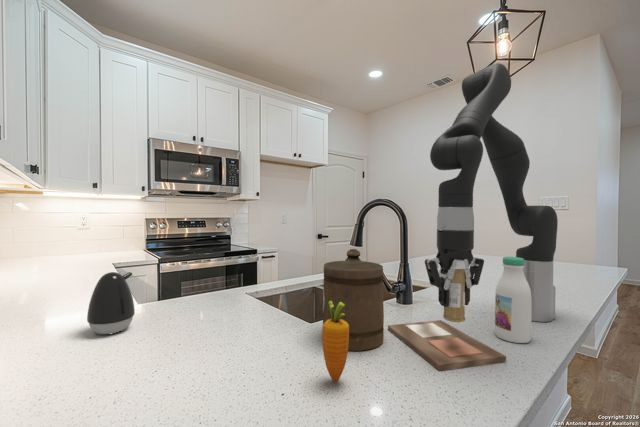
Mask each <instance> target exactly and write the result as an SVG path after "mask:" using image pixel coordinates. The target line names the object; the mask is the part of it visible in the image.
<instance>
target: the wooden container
mask: <svg viewBox="0 0 640 427" xmlns="http://www.w3.org/2000/svg"><path fill="white" fill-rule="evenodd" d="M346 256H347V257H346V258H345V260H335V261H329V262H326V263H324V264H323V289H322V290H323V293H322V294H323V296H322V325H323V324H324V323H325V322H326V321H327V320H328V319H332V317H331V313H330V306H329V303H328V302H329V301H332V303H333V305H334V313H335V310H336V308H337V306H338V304H339V302H342V303H343V304H345V306H344V307H343V308H342V309H341V311H340V314H341V313H344V314H345V315H344V316H343V317H342V318H341V319H342V320H344V321H346V322H347V323H348V324H349V345H348V352H349V351H350V352H361V351H369V350H374V349H376V348H379V347H380V346H382V344H383V343H384V332H385V330H384V323H385V322H384V321H385V320H384V318H385V317H384V316H385V313H384V312H385V311H384V309H385V308H384V267H383V266H384V265H382V264H380V263H377V262H373V261H371V262H370V261H363V260H361V259H360V256H361V251H359V250H358V249H356V248H350V249H349V250H347V251H346ZM340 314H339V315H340Z"/></svg>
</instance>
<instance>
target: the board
mask: <svg viewBox="0 0 640 427" xmlns="http://www.w3.org/2000/svg"><path fill="white" fill-rule="evenodd" d="M387 330H388V331H389V332H390V333H391V334H393V335H394V336H395V337H396V338H398V339H399V340H400V341H401V342H402V343H403V344H405V345H406V346H408V348H410V349H411V350H412V351H414V352H415V353H416V354H417V355H418V356H420V357H421V358H422V359H423V360H425V361H426V362H427V363H428V364H429V365H431V366H433V367H434V368H435V369H436V370H437V371H438V372H442V371H448V370H449V371H450V370H457V369H464V368H471V367H479V366H487V365H491V364H492V365H493V364H500V363H501V364H502V363H506V362H507V356H506V355H505V354H503V353H501V352H499V351H497V350H496V349H494V348H492V347H490V346H489V345H487V344H485V343H483V342H481V341H479V340H478V339H476V338H474V337H472V336H470V335H469V334H466V333H465V332H463V331H461V330H458V329H457V328H456V327H454V326H452V325H450V324H448V323H447V322H445V321H443V320H430V321H419V322H410V323H409V322H408V323H399V324H398V323H396V324H387Z"/></svg>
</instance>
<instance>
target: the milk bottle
mask: <svg viewBox="0 0 640 427" xmlns="http://www.w3.org/2000/svg"><path fill="white" fill-rule="evenodd" d="M502 266H503V271H502V274H501V276H500V278H499V279H498V281H497V284H496V288H495V295H494V296H495V301H494V302H495V305H494V333H495V335H496V337H498V339H501V340H504V341H507V342H511V343H515V344H528V343H530V342H531V341H532V320H531V315H532V301H531V290H530V287H529V284H528V282H527V280H526V278H525V275H524V272H523V268H524V259H523V258H519V257H516V256H504V257H503V258H502Z"/></svg>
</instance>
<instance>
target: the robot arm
mask: <svg viewBox="0 0 640 427" xmlns="http://www.w3.org/2000/svg"><path fill="white" fill-rule="evenodd" d="M511 87H512V78H511V74H510V72H509V70H508V68H507V67H506V66H505V64H503V63H500V62H498V63H493V64H490V65H488V66H486V67H484V68H482V69H480V70H477V71H476V72H474V73H471V74H470V75H468V76H466V77H464V78H463V79H462V82H461V91H462V92H461V93H462V95H463V98H464V100H465V103H466V105H465V106H464V107H463V108H462V109H461V110H460V111H459V112H458V114H457V115H456V118H455V119H454V121H453V123H452V124H451V126H450V127H449V128H447V129H446V130H445V131H444V132H443V133H442V134H441V135H439V137H437V138H436V140H435V141H434V143H433V145H432V146H431V149H430V153H429V156H430V157H429V159H430V163H431V164H432V166H433V167H434V168H435V169H437V170H440V171H452V170H460V171H459V174H458V175H457V176H456V177H454V178H451V179H448V180H444V181H442V182H440V183H439V185H438V201H437V202H438V207H437V216H436V248H437V254H436V256H435V257H433V258H431V259H428V258H427V259H425V260H424V265H425V269H426V273H427V276H428V280H429V284H430V285H431V286H434V287H436V288H437V289H438V299H437V300H438V303H439V304H440V306H442V307H443V308H444V307H448V306H449V290H447V289H448V288H449V284H450V281H451V280H452V279H453V276H454V272H455V269H454V267H456V265H457V261H458V260H463V261H464V262H465V267H466V268H465V269H464V270H465V271H464V273H465V306H468V305H469V303H470V300H471V289H472V287H474V286H478V285H479V282H480V279H481V276H482V272H483V268H484V265H485V260H484V259H483V258H478V257H474V254H473V253H472V250H473V249H474V246H475V215H474V187H475V183H476V177H477V175H478V171H479V168H480V165H481V162H482V159H483V155H484V149H485V150H486V154H487V156H488V159H489V162H490V165H491V168H492V170H493V172H494V175H495V177H496V181H497V182H498V186H499V188H500V192H501V194H502V198H503V202H504V206H505V210H506V214H507V219H508V222H509V224H510V227H511V230H512V231H513V232H514V233H515V234H516V235H519V236H524V237H532V240H531V241H532V242H531V243H530V244H528V245H526V246H523V247H519V248H517V249H516V252H515V257H519V258H523V259H524V268H523V272H524V275H525V278H526V280H527V282H528V284H529V287H530V290H531V301H532V315H531V322H532V321H533V322H540V323H548V322H552V321H553V320H555V319H556V293H557V292H556V290H557V288H556V286H555V285H554V257H555V253H556V249H557V238H558V236H557V235H558V221H559V220H558V216H557V212H556V211H555V208H553V207H552V206H549V205H528V204H527V203H526V200H525V196H524V191H523V190H524V184H525V181H526V179H527V176H528V173H529V169H530V165H531V163H530V158H529V154H528V151H527V149H526V146H525V143H524V141H523V140H522V138H521V137H520V136H519V135H518V134H516V133H515V132H513V131H512V130H510V129H509V128H508V127H506V126H504V125H503V124H502V123H500V122H499V121H498V120H497V119H495V117H494V116H493V114H494V113H495V112H496V110H497V109H498V108H499V106H500V105H501V104H502V102H503V101H505V99H506V97H507V96H508V95H509V93H510V92H511ZM481 139H482V141H481ZM482 142H483V143H482ZM483 144H484V145H483ZM483 146H484V147H485V148H484V147H483ZM444 272H446V273H447V275H445V274H444Z"/></svg>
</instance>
